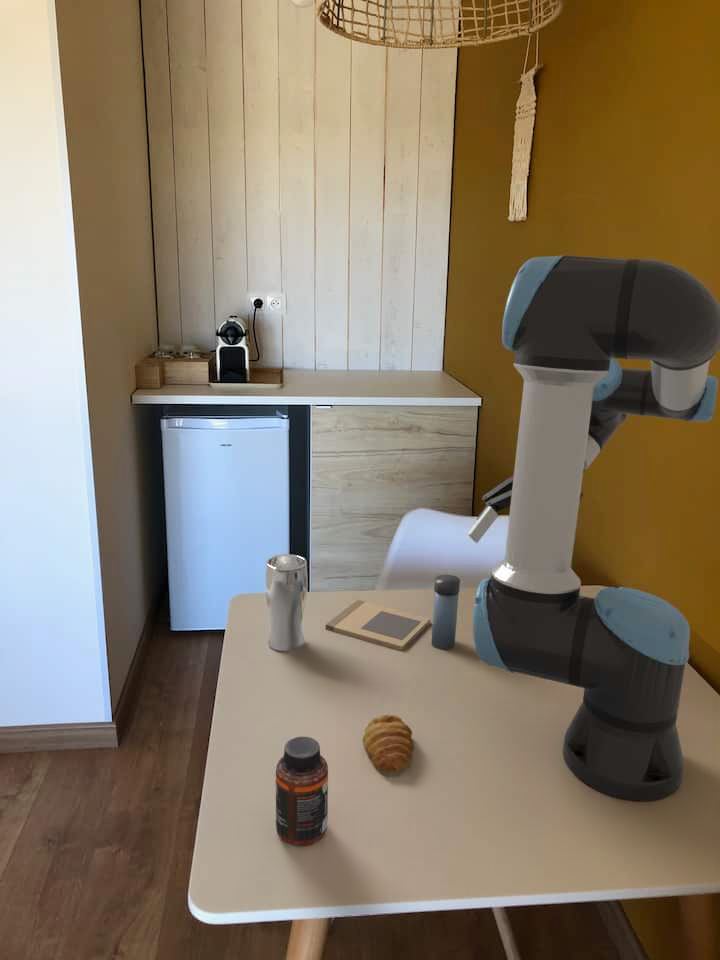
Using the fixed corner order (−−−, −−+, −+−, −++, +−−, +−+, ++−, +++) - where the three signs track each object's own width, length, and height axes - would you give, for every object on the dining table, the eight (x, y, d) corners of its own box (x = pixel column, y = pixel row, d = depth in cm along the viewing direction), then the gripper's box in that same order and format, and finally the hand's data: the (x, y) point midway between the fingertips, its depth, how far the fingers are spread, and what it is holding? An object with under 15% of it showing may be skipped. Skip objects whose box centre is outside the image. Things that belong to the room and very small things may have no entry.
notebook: (401, 650, 130) (402, 646, 130) (325, 628, 137) (325, 624, 137) (430, 622, 141) (430, 618, 140) (357, 603, 147) (357, 599, 147)
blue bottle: (449, 652, 131) (454, 586, 127) (427, 645, 132) (431, 581, 129) (459, 641, 134) (463, 577, 131) (436, 635, 136) (440, 572, 133)
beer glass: (268, 655, 128) (268, 571, 123) (263, 635, 134) (263, 554, 130) (310, 651, 129) (311, 568, 125) (303, 632, 136) (304, 552, 131)
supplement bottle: (338, 831, 90) (340, 747, 86) (299, 858, 86) (300, 771, 82) (303, 805, 94) (304, 724, 90) (265, 829, 90) (264, 745, 86)
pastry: (420, 778, 99) (421, 753, 98) (368, 781, 99) (369, 755, 98) (408, 734, 108) (409, 710, 107) (360, 736, 108) (361, 712, 107)
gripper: (632, 489, 130) (559, 588, 126) (528, 454, 150) (462, 539, 147) (615, 462, 126) (538, 564, 122) (510, 430, 146) (442, 517, 142)
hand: (497, 551), depth 134 cm, fingers open, 13 cm apart
